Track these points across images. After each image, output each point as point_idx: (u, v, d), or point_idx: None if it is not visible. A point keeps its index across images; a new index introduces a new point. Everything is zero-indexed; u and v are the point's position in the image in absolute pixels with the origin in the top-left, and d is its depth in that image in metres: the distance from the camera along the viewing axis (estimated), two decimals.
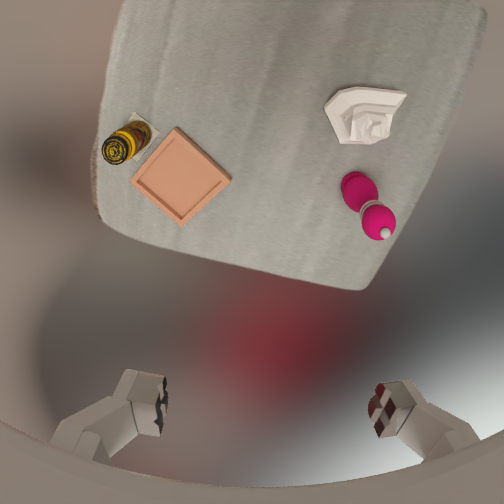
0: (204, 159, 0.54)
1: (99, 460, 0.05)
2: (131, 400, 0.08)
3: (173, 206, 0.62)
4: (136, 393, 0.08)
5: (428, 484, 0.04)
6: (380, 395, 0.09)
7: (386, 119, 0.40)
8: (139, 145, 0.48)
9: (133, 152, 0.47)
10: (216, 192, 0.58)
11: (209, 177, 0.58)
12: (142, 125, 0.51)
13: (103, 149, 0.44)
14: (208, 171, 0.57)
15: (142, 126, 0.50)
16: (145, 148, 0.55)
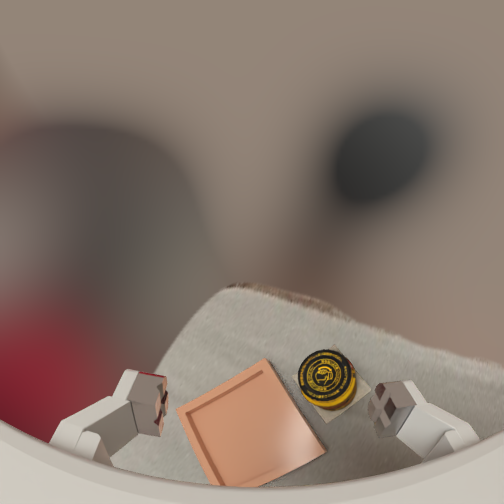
0: (263, 481, 0.28)
1: (99, 460, 0.05)
2: (131, 400, 0.08)
3: (208, 408, 0.37)
4: (136, 393, 0.08)
5: (428, 484, 0.04)
6: (380, 395, 0.09)
7: None
8: (317, 406, 0.28)
9: (309, 400, 0.27)
10: (209, 478, 0.30)
11: (235, 474, 0.30)
12: (346, 405, 0.31)
13: (333, 355, 0.26)
14: (244, 476, 0.30)
15: (346, 405, 0.31)
16: None
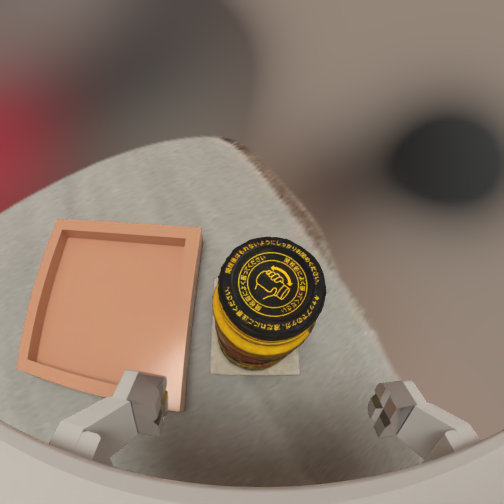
0: (76, 385, 0.18)
1: (99, 460, 0.05)
2: (131, 400, 0.08)
3: (91, 243, 0.26)
4: (136, 393, 0.08)
5: (428, 484, 0.04)
6: (380, 395, 0.09)
7: None
8: (219, 335, 0.17)
9: (216, 313, 0.16)
10: (25, 329, 0.19)
11: (56, 348, 0.20)
12: (256, 368, 0.21)
13: (311, 264, 0.14)
14: (63, 359, 0.20)
15: (255, 368, 0.20)
16: None
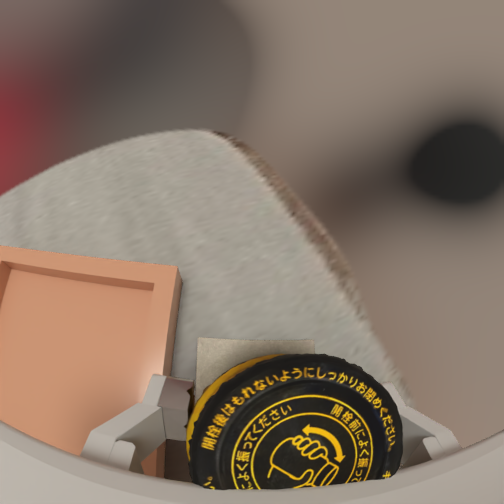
0: None
1: (134, 469, 0.06)
2: (162, 406, 0.08)
3: (36, 280, 0.17)
4: (166, 398, 0.08)
5: (428, 484, 0.04)
6: None
7: None
8: None
9: None
10: None
11: (3, 416, 0.12)
12: None
13: (383, 413, 0.06)
14: None
15: None
16: (201, 395, 0.16)
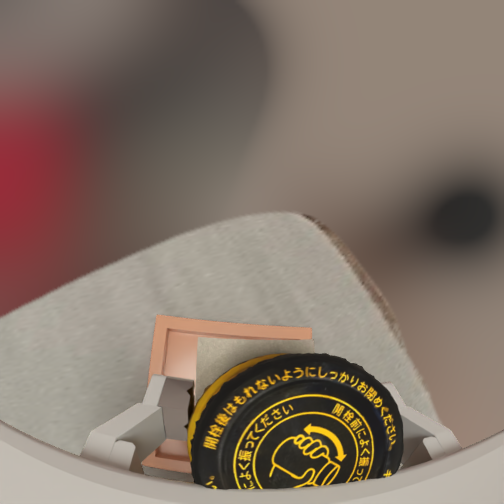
0: None
1: (134, 469, 0.06)
2: (162, 406, 0.08)
3: None
4: (166, 398, 0.08)
5: (428, 484, 0.04)
6: None
7: None
8: None
9: None
10: None
11: (180, 441, 0.23)
12: None
13: (384, 412, 0.06)
14: None
15: None
16: (201, 394, 0.16)
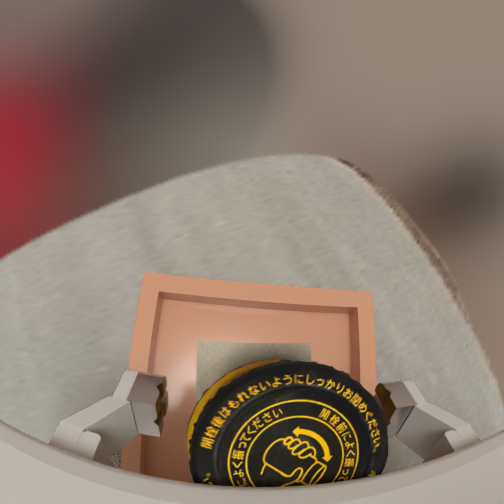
0: None
1: (99, 460, 0.05)
2: (131, 400, 0.08)
3: (207, 311, 0.19)
4: (136, 393, 0.08)
5: (428, 484, 0.04)
6: (380, 395, 0.09)
7: None
8: None
9: None
10: (126, 451, 0.13)
11: (178, 466, 0.14)
12: None
13: (369, 416, 0.06)
14: None
15: None
16: (201, 396, 0.16)
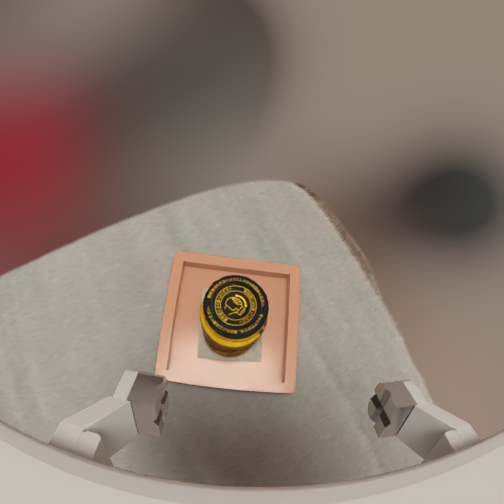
0: (216, 384, 0.29)
1: (99, 460, 0.05)
2: (131, 400, 0.08)
3: (208, 273, 0.36)
4: (136, 393, 0.08)
5: (428, 484, 0.04)
6: (380, 395, 0.09)
7: None
8: (204, 332, 0.26)
9: (201, 319, 0.25)
10: (161, 345, 0.30)
11: (188, 358, 0.31)
12: (229, 355, 0.30)
13: (260, 294, 0.23)
14: (196, 366, 0.31)
15: (228, 355, 0.30)
16: None
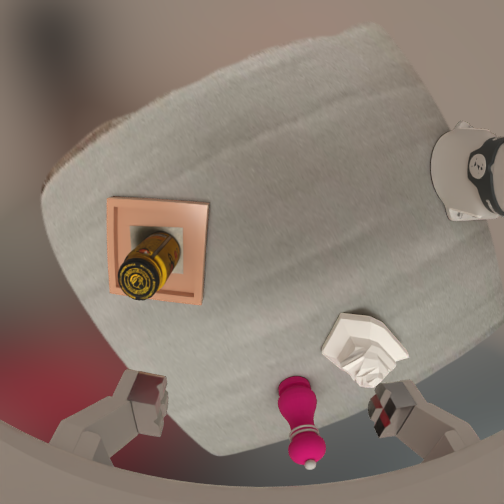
0: (201, 263, 0.43)
1: (99, 460, 0.05)
2: (131, 400, 0.08)
3: None
4: (136, 393, 0.08)
5: (428, 484, 0.04)
6: (380, 395, 0.09)
7: (386, 374, 0.41)
8: None
9: None
10: (177, 300, 0.44)
11: (184, 279, 0.45)
12: (178, 255, 0.42)
13: (127, 265, 0.31)
14: (189, 274, 0.45)
15: (177, 257, 0.41)
16: None
